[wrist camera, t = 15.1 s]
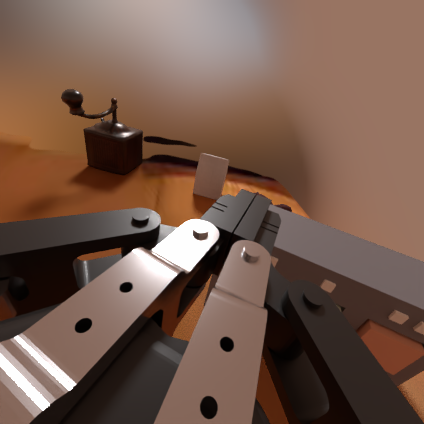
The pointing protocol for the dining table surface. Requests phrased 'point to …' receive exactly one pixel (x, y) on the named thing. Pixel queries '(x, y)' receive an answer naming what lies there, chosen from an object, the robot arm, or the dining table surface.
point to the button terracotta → (389, 346)
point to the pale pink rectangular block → (210, 176)
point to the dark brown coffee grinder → (108, 138)
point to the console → (353, 277)
